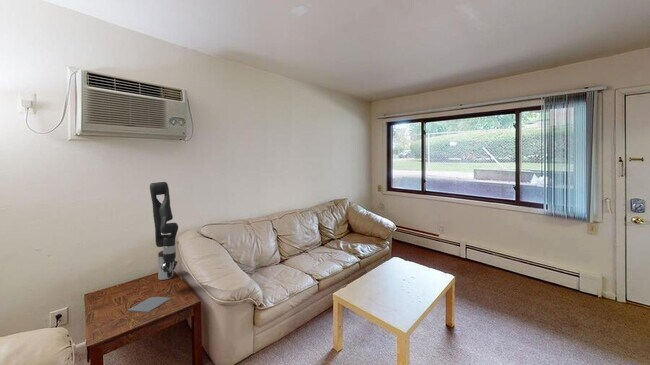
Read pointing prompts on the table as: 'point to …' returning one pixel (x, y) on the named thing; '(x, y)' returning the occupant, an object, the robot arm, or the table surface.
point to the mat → (149, 304)
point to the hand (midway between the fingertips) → (169, 277)
